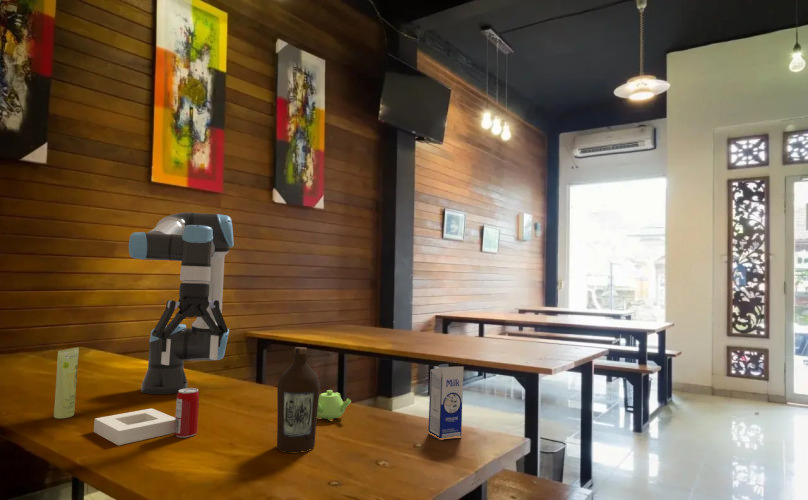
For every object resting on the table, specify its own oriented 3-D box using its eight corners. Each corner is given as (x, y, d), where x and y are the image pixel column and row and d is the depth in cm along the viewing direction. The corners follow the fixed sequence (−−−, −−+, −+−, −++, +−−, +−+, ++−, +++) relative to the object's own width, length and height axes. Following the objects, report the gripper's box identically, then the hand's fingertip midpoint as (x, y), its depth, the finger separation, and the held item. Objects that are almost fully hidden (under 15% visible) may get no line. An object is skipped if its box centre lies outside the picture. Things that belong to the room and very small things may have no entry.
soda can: (201, 433, 136) (204, 388, 136) (186, 439, 131) (189, 392, 131) (185, 430, 138) (187, 386, 138) (169, 436, 132) (172, 390, 133)
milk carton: (440, 441, 137) (442, 366, 138) (427, 433, 143) (430, 362, 144) (461, 438, 140) (464, 365, 141) (448, 431, 146) (451, 361, 147)
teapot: (342, 412, 162) (343, 385, 162) (351, 422, 151) (352, 394, 151) (307, 414, 158) (308, 387, 158) (313, 425, 147) (315, 395, 148)
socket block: (151, 420, 145) (151, 408, 145) (177, 432, 136) (178, 419, 136) (93, 431, 133) (94, 418, 134) (118, 445, 124) (119, 431, 124)
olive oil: (274, 441, 132) (279, 344, 133) (315, 439, 134) (320, 345, 135) (273, 455, 121) (279, 351, 123) (318, 453, 124) (323, 351, 125)
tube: (74, 418, 145) (79, 349, 146) (52, 420, 142) (58, 350, 143) (74, 413, 149) (78, 347, 150) (53, 415, 147) (58, 347, 148)
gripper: (228, 282, 148) (224, 355, 147) (141, 280, 129) (135, 364, 127) (243, 283, 144) (239, 358, 142) (155, 281, 124) (149, 368, 123)
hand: (190, 361), depth 135 cm, fingers open, 13 cm apart
